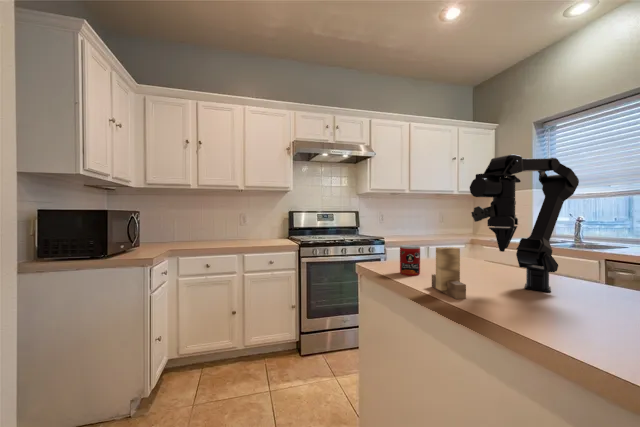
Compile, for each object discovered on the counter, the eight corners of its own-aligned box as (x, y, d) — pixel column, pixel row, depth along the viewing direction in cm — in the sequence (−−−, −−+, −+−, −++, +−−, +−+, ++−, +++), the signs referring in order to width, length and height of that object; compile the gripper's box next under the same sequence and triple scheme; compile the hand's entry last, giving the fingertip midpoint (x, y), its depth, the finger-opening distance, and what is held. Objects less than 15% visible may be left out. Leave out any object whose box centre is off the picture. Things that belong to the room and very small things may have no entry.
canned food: (399, 275, 110) (399, 246, 110) (400, 271, 117) (400, 244, 117) (420, 276, 107) (420, 247, 107) (419, 272, 115) (419, 245, 115)
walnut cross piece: (431, 286, 93) (431, 274, 93) (440, 286, 93) (440, 274, 93) (456, 299, 80) (456, 284, 80) (465, 298, 80) (466, 284, 80)
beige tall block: (453, 287, 88) (454, 247, 88) (459, 290, 85) (459, 248, 85) (435, 288, 88) (435, 247, 87) (441, 290, 85) (441, 248, 84)
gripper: (478, 199, 98) (478, 245, 98) (467, 197, 83) (467, 250, 83) (518, 198, 91) (518, 247, 91) (513, 196, 76) (513, 254, 76)
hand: (503, 249), depth 85 cm, fingers open, 9 cm apart
